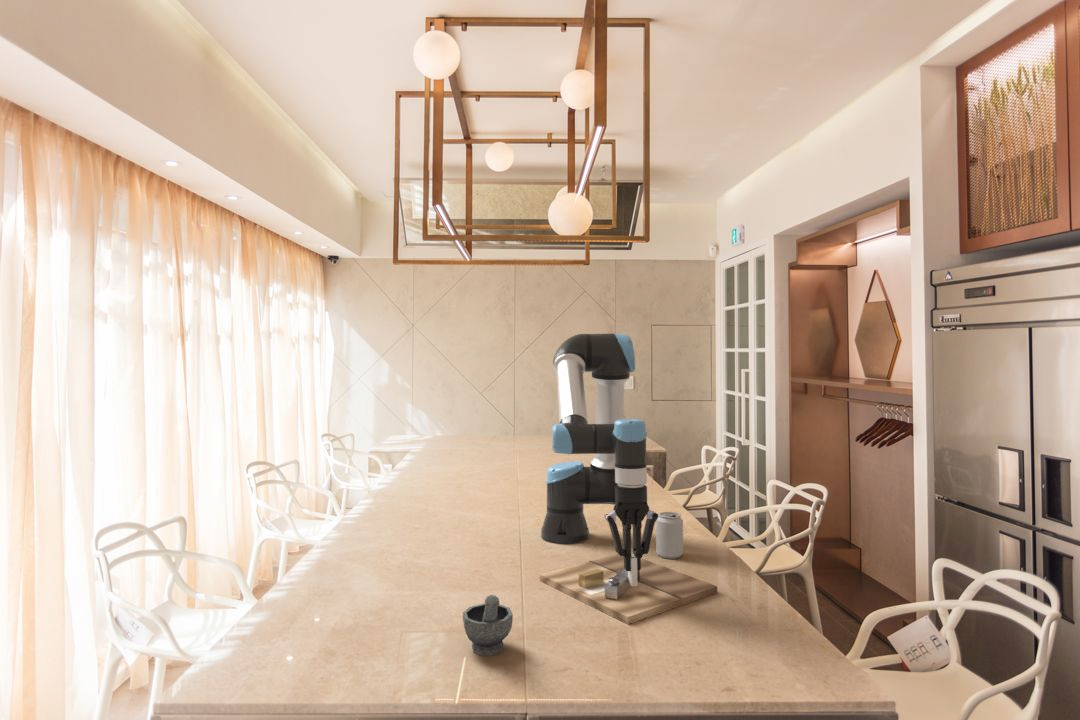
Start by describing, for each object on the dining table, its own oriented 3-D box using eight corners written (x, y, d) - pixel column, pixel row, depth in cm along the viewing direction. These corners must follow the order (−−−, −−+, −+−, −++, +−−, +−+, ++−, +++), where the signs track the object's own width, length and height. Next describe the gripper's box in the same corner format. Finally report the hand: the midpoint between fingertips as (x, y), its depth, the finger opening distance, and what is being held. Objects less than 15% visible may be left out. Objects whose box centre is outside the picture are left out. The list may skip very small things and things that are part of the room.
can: (683, 560, 174) (683, 517, 174) (656, 558, 175) (656, 516, 175) (682, 552, 181) (682, 511, 181) (656, 550, 183) (656, 510, 182)
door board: (539, 580, 158) (539, 562, 158) (624, 557, 176) (624, 541, 176) (627, 624, 132) (627, 603, 132) (717, 592, 150) (717, 573, 150)
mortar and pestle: (460, 639, 125) (460, 580, 125) (506, 634, 128) (506, 576, 128) (468, 666, 114) (468, 602, 114) (517, 660, 117) (517, 597, 117)
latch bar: (626, 574, 158) (626, 558, 158) (641, 576, 156) (641, 561, 156) (602, 597, 143) (602, 580, 143) (619, 600, 141) (619, 583, 141)
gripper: (651, 480, 152) (652, 576, 152) (600, 483, 149) (602, 581, 149) (662, 486, 145) (664, 587, 144) (609, 488, 142) (611, 592, 142)
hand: (632, 584), depth 147 cm, fingers closed
